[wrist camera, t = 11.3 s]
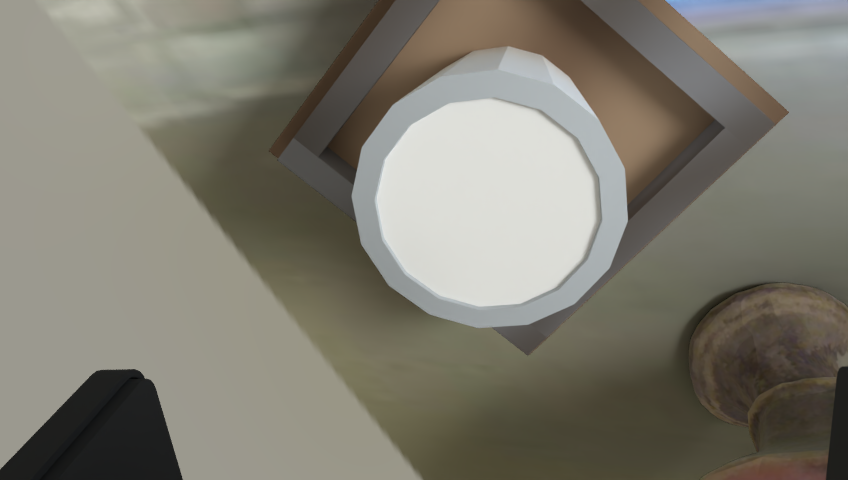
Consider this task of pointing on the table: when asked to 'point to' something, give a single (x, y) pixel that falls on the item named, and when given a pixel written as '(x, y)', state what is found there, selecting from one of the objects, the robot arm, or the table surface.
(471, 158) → the white short cylinder
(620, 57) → the display riser
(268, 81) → the table surface
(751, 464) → the decorative bust
